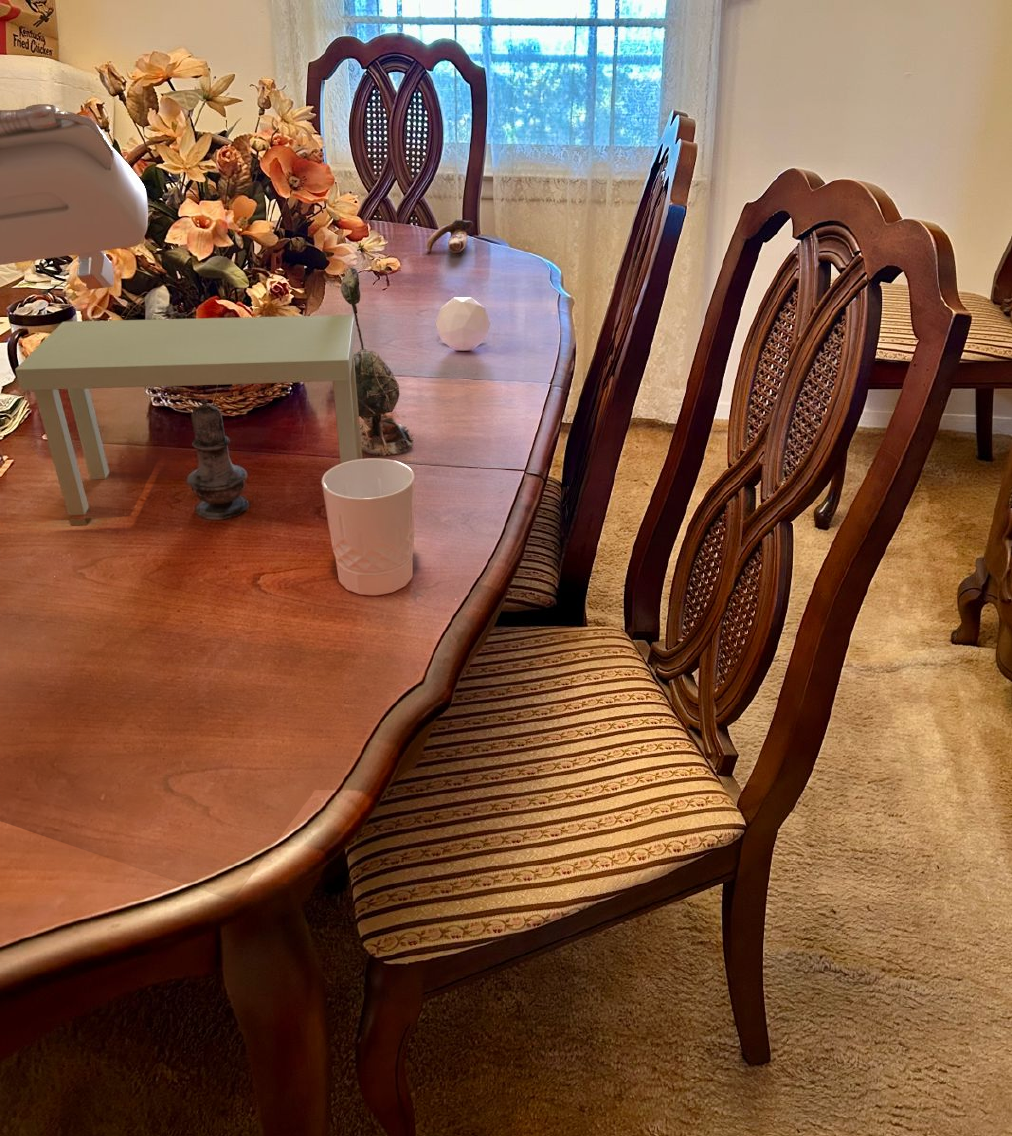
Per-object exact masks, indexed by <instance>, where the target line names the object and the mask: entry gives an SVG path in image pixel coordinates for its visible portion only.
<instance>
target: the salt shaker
mask: <svg viewBox="0 0 1012 1136" xmlns="http://www.w3.org/2000/svg"><path fill="white" fill-rule="evenodd" d="M200 403H201V404H200V405H199V406H197V407H195V408H194V409H193V410H192V412H191V416H190V417H191V423H192V427H193V433H194V439H193V440H192V442H191V445H192V446H193V448H195V449H196V454H197V460H198V466H197V469H195V470H193V471H192V472H190V473H189V474H188V476H187V477H186V483H187V485H188V486H189V487H191V490H192V492H193V493H194V495H195V496H196V497H197V499H199V500H201V501H200V502H199V503H198V504H197V505H196V507H195V513H196V515H197V516H198V517H200V518H201V519H205V520H212V521H222V520H229V519H233V518H236V517H238V516H240V515H242V514H244V513H245V512H246V511H247V510H248V509H249V501H248V500H247V499H246V498H245V497H244V496H241V494H242V493H243V491H244V488H245V485H246V479H247V477H248V472H247V470H246V469H245V468H244V467H242V466H240V465H236V464H233V463H232V460H231V458H230V453H229V446H228V445H229V444H230V442H231V438H229V436H227V435H226V433H225V428H224V427H225V425H224V421H223V415H222V411H221V409H219V408H218V407H217V406H214V405H211V404H209V403H208V400H207V398H205V396H203V397H202V398H201V400H200Z"/></svg>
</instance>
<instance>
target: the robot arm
mask: <svg viewBox="0 0 1012 1136" xmlns="http://www.w3.org/2000/svg"><path fill="white" fill-rule="evenodd" d="M148 223H149V203H148V195H147V190H146V188H145V185H144V183H143V182H142V180H141V179H140V177H139V176H138V175H137V174H136V173H135V171H134V170H133V169H132V167H131V166H130V165H129V164H128V163H127V162H126V160H125V159H124V157H122V156H121V154H120V153H119V152H118V151H117V150H116V149H115V148H114V146H112V144H111V143H110V141H109V140H108V138H107V136H106V135H105V134H104V133H103V130H102V129H101V127H100V126H99V125H98V124H97V123H96V121H95V120H93V118H91V117H90V116H88V115H82V114H81V115H80V114H78V113H75V112H72V111H66V110H59V109H58V108H57V107H56V106H55V105H54V104H49V103H46V104H45V103H38V104H32V105H27V106H26V107H25V108H19V109H0V266H2V265H9V264H16V263H17V264H19V263H24V262H25V263H26V262H31V261H38V260H46V259H47V260H48V259H54V258H61V257H69V256H74V255H75V256H76V255H77V263H79V264H78V266H77V267H76V268H77V273H76V275H77V278H78V279H79V280H80V281H81V283H83V284H85V287H86V288H87V290H96V289H105V288H113V287H114V285H115V284H114V283H115V282H114V280H115V279H114V278H115V271H114V265H113V263H112V260H110V259H109V258H108V256H107V255H106V254H105V252H106V251H111V250H120V249H127V248H134V247H137V246H140V245H141V244H142V243H143V240H144V238H145V235H146V233H147V231H148Z"/></svg>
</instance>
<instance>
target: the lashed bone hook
mask: <svg viewBox="0 0 1012 1136" xmlns="http://www.w3.org/2000/svg"><path fill="white" fill-rule="evenodd" d="M473 226H474V222H473V221H471V220H464V219H455V220H454V221H453V222H451V223H447V224H446V225H444V226H442V227H440V228H438V229H437V230H435V231H434V232H433V233H432V234H431V235H430V236H429V238H428V239H427V242H426V250H427V252H428V253H431V252H432V249H433V247H434V245H435V243H436V242H437V241H438V240H439V239H440V238H441V237H443V236H444V235H445V234H447V233H450V237H449V240H448V242H447V247H448V249H449V251H450V252H451V253H454V254H455V253H456V254H459V253H461V252H462V251H463V250H464V249H465V248H466V246H467V244H468V241H469V239H468V235H469V233H470V228H473Z"/></svg>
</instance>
